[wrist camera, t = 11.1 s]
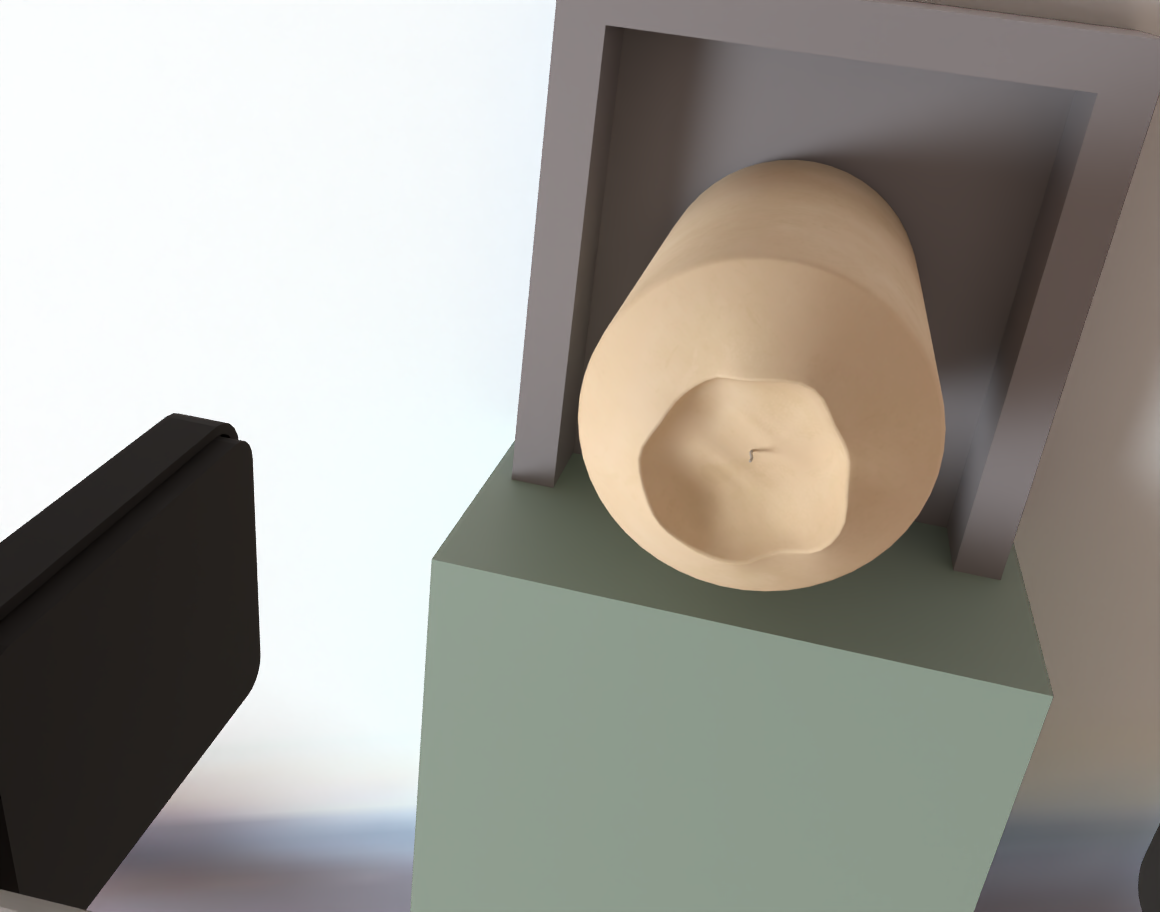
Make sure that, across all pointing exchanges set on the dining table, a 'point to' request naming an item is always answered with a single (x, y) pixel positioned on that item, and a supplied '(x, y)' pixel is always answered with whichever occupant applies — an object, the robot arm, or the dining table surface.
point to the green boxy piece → (791, 617)
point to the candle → (769, 385)
